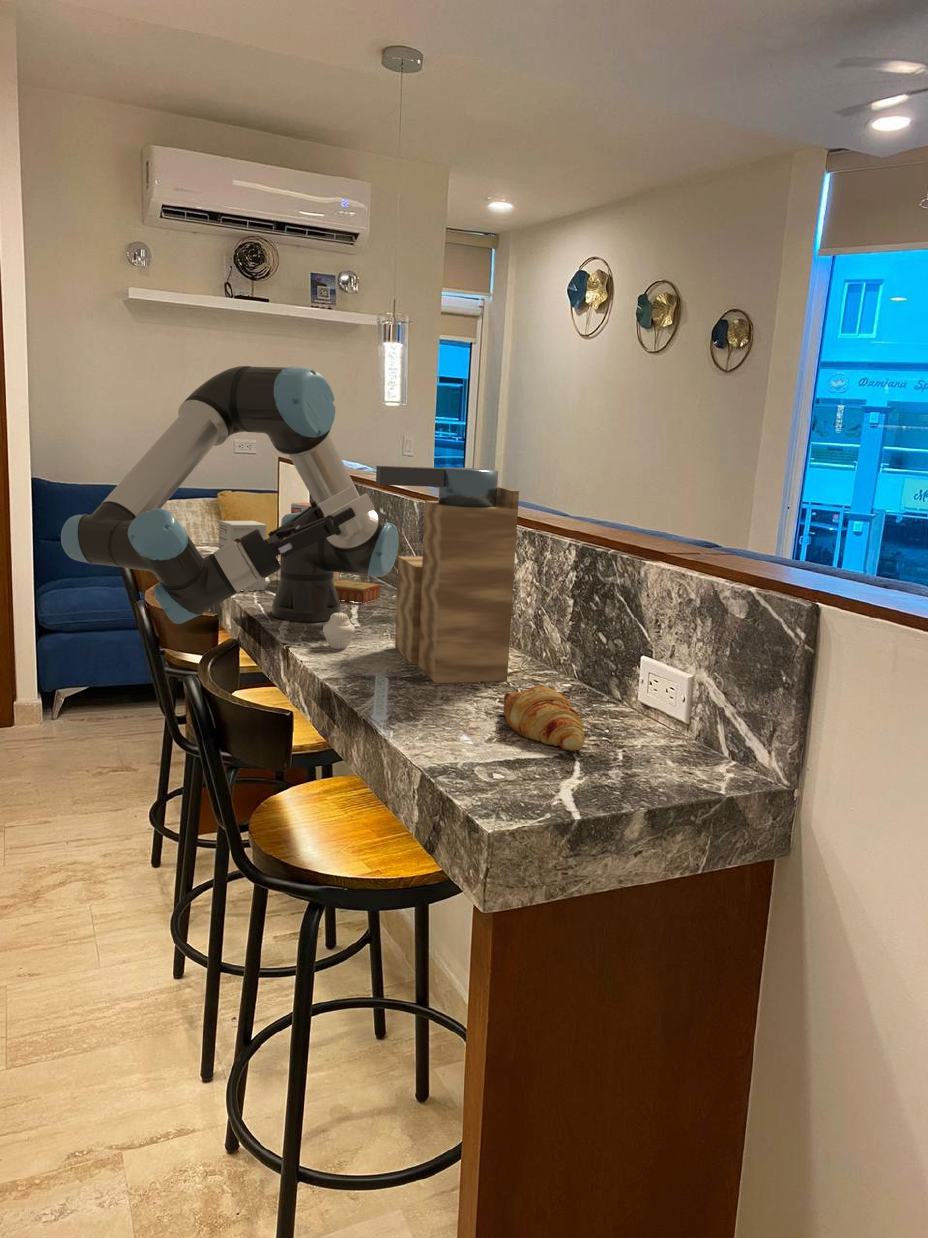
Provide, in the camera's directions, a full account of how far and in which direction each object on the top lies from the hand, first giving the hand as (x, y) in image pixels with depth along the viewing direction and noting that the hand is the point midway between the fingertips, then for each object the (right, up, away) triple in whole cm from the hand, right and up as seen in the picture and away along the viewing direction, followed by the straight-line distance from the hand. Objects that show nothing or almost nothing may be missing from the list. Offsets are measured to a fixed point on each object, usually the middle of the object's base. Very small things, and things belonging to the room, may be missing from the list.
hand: (362, 496), depth 155 cm
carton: (-13, -16, +76) cm, 79 cm away
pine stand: (+14, -29, +18) cm, 37 cm away
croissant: (+28, -37, -18) cm, 50 cm away
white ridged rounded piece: (-8, -26, +26) cm, 38 cm away
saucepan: (+12, -1, +4) cm, 13 cm away
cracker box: (-23, -11, +94) cm, 98 cm away
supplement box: (-39, -13, +81) cm, 91 cm away
